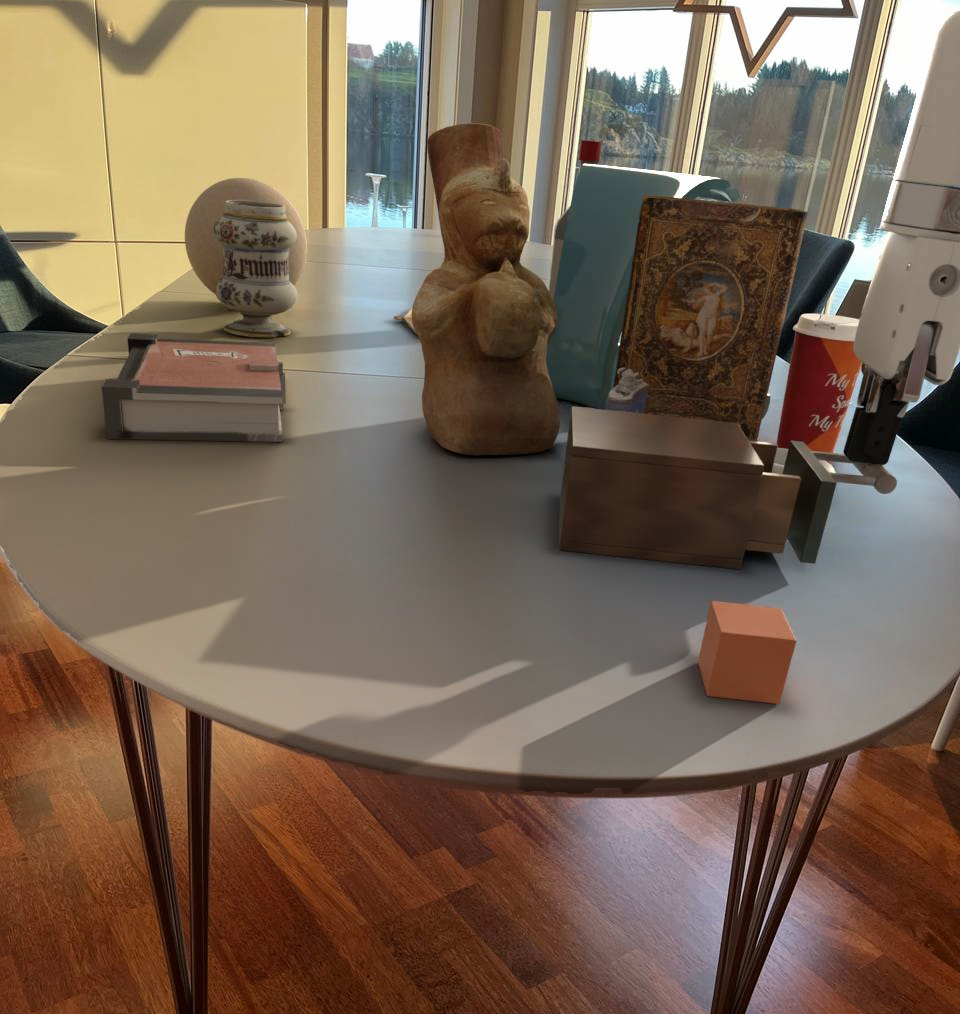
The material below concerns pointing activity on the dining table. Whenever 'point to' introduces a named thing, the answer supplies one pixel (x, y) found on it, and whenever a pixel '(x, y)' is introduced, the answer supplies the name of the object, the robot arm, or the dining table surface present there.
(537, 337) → the ceramic vessel
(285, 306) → the apothecary jar
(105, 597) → the dining table surface
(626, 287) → the curved teal holder
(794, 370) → the coffee cup
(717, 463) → the cabinet
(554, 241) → the liquor
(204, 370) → the book
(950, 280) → the robot arm
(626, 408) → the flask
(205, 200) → the decorative sphere
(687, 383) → the book
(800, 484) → the drawer
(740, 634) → the block
